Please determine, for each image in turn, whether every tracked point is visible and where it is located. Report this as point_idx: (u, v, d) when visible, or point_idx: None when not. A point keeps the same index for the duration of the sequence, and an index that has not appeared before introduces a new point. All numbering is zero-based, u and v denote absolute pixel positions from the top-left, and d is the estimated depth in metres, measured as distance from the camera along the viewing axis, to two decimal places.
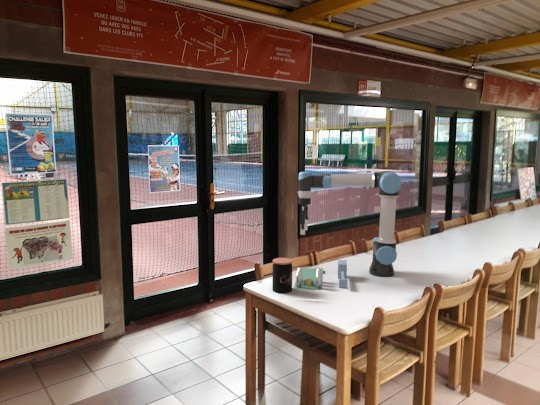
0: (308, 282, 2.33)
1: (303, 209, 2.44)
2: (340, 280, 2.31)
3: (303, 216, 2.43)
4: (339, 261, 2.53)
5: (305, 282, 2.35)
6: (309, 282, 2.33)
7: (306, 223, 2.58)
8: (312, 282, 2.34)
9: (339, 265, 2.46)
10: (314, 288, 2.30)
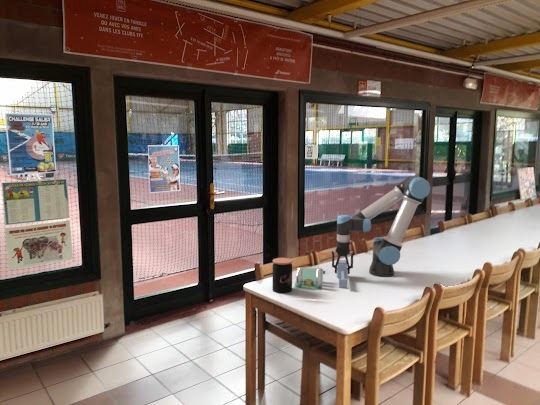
0: (308, 282, 2.33)
1: None
2: (340, 280, 2.31)
3: (332, 260, 2.49)
4: (339, 261, 2.53)
5: (305, 282, 2.35)
6: (309, 282, 2.33)
7: None
8: (312, 282, 2.34)
9: (339, 265, 2.46)
10: (314, 288, 2.30)
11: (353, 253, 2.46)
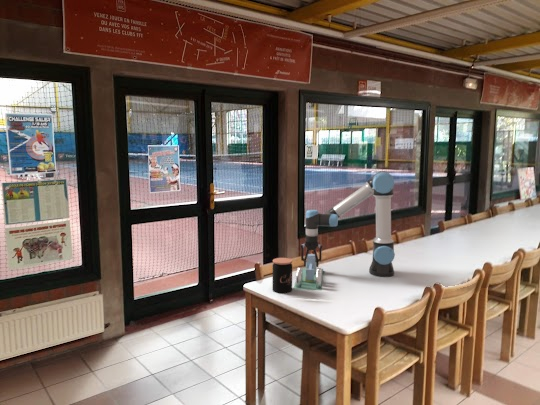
0: None
1: None
2: (307, 270, 2.39)
3: (301, 253, 2.57)
4: (308, 255, 2.61)
5: None
6: None
7: (315, 265, 2.57)
8: None
9: (308, 258, 2.55)
10: (314, 288, 2.30)
11: (321, 246, 2.54)
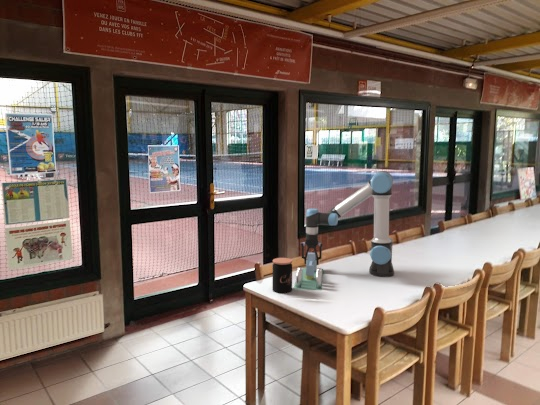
0: (309, 276, 2.45)
1: None
2: (307, 266, 2.43)
3: None
4: (309, 253, 2.66)
5: (306, 276, 2.46)
6: (310, 276, 2.45)
7: (315, 263, 2.61)
8: (312, 276, 2.46)
9: (308, 255, 2.60)
10: (314, 288, 2.30)
11: (321, 245, 2.59)
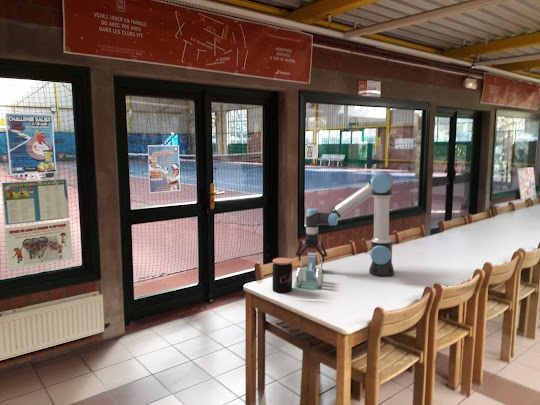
0: None
1: None
2: (307, 271, 2.43)
3: (298, 249, 2.62)
4: (309, 254, 2.65)
5: None
6: None
7: (321, 260, 2.61)
8: None
9: (308, 257, 2.59)
10: (314, 288, 2.30)
11: (322, 242, 2.59)
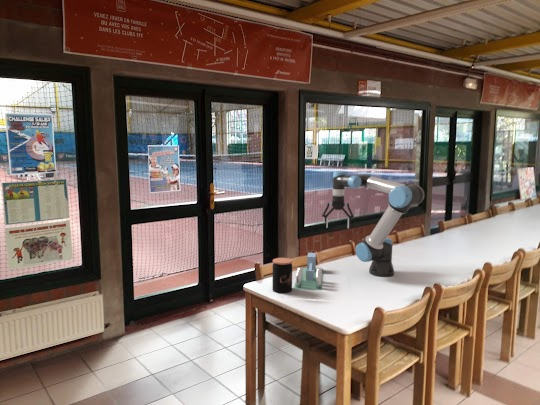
0: None
1: (327, 204, 2.69)
2: (307, 271, 2.43)
3: None
4: (309, 254, 2.65)
5: None
6: None
7: None
8: None
9: (308, 257, 2.59)
10: (314, 288, 2.30)
11: (348, 204, 2.66)
